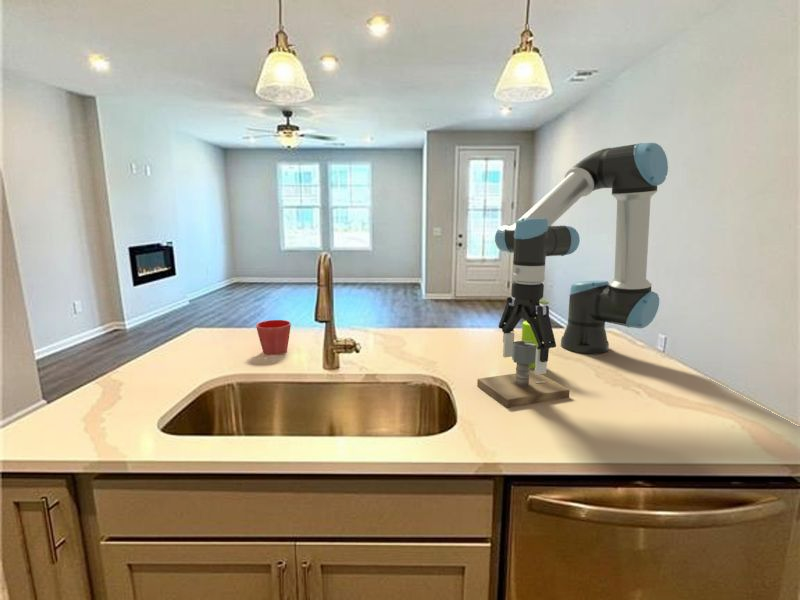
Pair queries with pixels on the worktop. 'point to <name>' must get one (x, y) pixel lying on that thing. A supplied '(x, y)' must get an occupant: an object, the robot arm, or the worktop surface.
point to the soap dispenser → (530, 333)
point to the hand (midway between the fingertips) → (523, 364)
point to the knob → (524, 352)
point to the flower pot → (274, 336)
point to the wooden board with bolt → (522, 387)
